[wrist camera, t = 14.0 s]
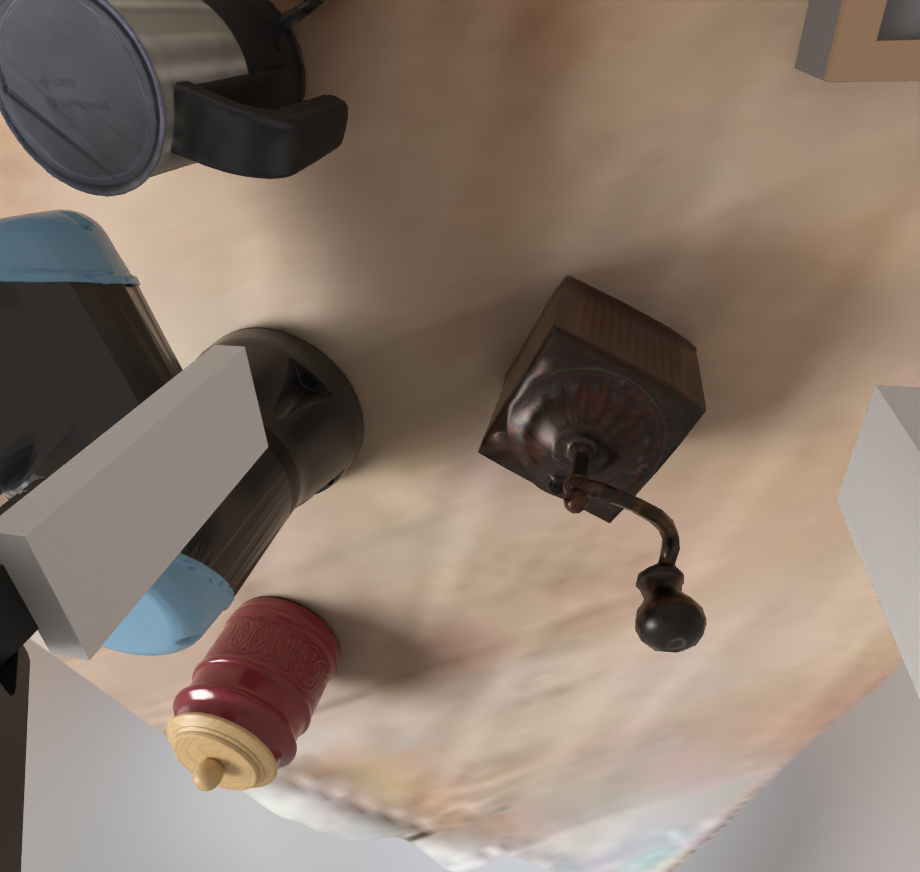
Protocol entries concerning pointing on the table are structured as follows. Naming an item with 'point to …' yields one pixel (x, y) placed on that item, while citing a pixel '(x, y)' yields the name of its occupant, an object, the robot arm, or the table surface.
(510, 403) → the coffee grinder
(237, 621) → the canister
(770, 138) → the table surface
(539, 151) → the table surface
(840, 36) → the plinth
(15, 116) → the milk frother
